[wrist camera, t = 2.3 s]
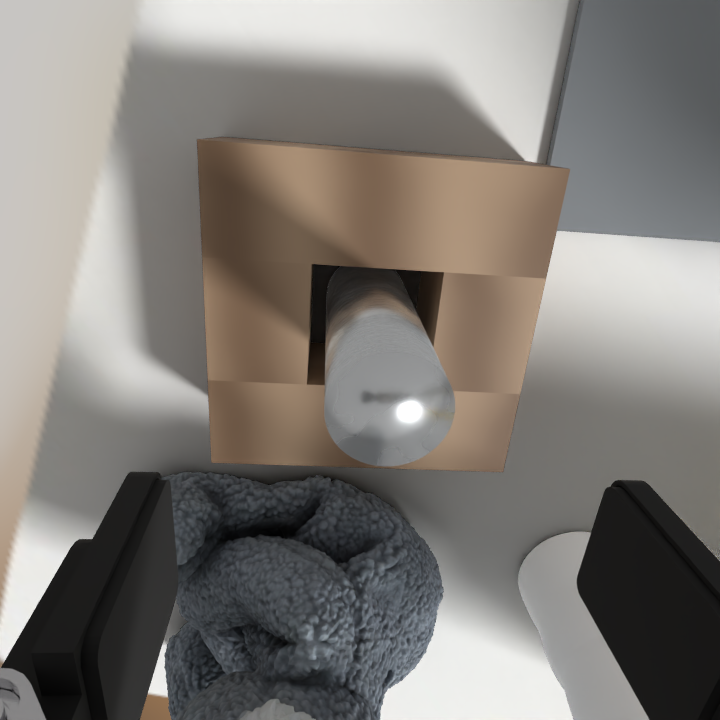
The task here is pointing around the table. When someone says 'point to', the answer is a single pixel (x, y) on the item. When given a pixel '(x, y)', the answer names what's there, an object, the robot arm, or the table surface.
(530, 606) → the water bottle
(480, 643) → the table surface
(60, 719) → the robot arm
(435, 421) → the pin
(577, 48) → the pad
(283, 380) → the socket block
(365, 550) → the koala plush
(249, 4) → the table surface
